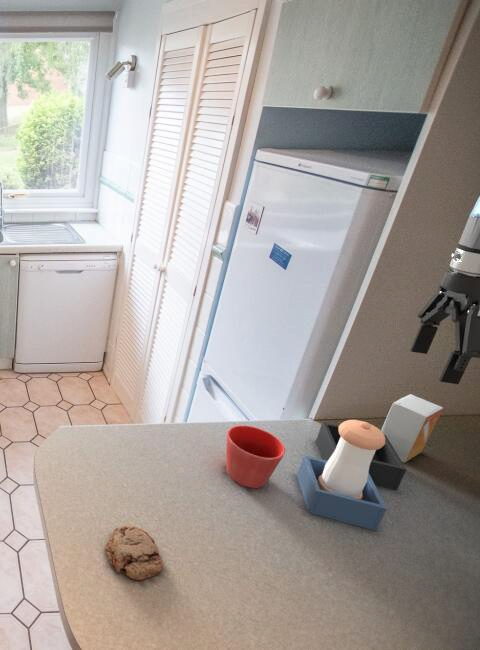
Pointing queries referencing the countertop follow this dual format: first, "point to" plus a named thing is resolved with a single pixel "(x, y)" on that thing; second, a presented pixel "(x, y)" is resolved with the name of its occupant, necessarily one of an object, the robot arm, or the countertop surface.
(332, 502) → the blue bin
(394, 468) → the charcoal bin
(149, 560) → the cookie
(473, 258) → the robot arm
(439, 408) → the small box
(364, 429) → the pepper shaker
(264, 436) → the flower pot
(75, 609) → the countertop surface
